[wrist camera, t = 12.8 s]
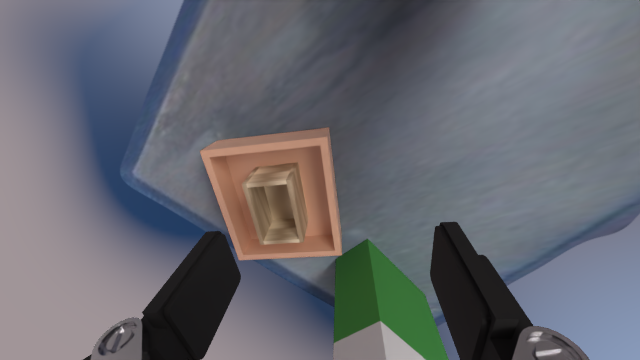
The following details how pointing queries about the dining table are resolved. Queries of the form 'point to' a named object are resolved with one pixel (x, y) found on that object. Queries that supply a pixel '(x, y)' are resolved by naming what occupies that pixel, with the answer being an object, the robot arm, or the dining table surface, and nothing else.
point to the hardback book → (380, 311)
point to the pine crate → (277, 203)
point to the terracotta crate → (317, 179)
